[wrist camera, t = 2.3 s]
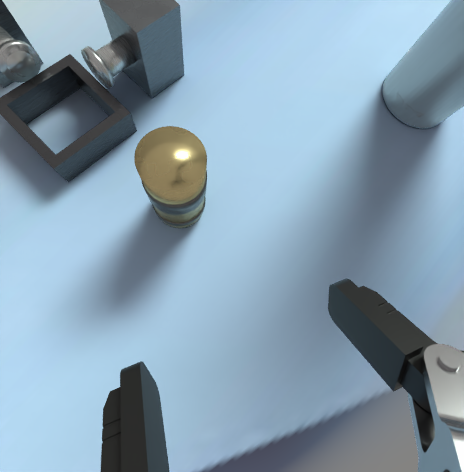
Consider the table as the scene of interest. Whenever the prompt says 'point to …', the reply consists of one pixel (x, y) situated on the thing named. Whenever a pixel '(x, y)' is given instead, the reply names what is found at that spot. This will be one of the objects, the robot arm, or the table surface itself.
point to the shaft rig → (102, 66)
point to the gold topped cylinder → (173, 174)
